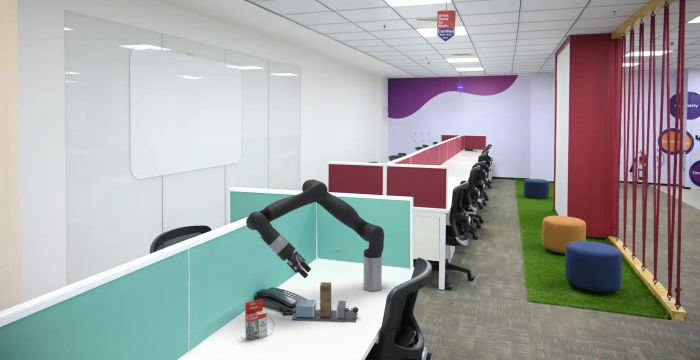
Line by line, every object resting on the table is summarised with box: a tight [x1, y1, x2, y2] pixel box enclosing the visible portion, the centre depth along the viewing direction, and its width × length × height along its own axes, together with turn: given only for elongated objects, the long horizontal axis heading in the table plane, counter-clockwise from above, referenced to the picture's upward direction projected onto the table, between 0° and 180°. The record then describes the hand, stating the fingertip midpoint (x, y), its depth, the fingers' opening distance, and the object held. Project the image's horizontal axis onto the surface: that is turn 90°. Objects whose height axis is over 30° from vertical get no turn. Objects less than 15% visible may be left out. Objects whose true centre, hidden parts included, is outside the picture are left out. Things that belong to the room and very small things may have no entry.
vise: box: [291, 300, 359, 323], centre depth 221 cm, size 10×29×6 cm, turn 86°
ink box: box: [244, 298, 268, 341], centre depth 200 cm, size 4×8×15 cm, turn 124°
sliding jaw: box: [295, 299, 317, 317], centre depth 221 cm, size 8×8×5 cm
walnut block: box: [319, 281, 332, 317], centre depth 220 cm, size 4×4×14 cm
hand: (308, 273), depth 219 cm, fingers open, 8 cm apart
